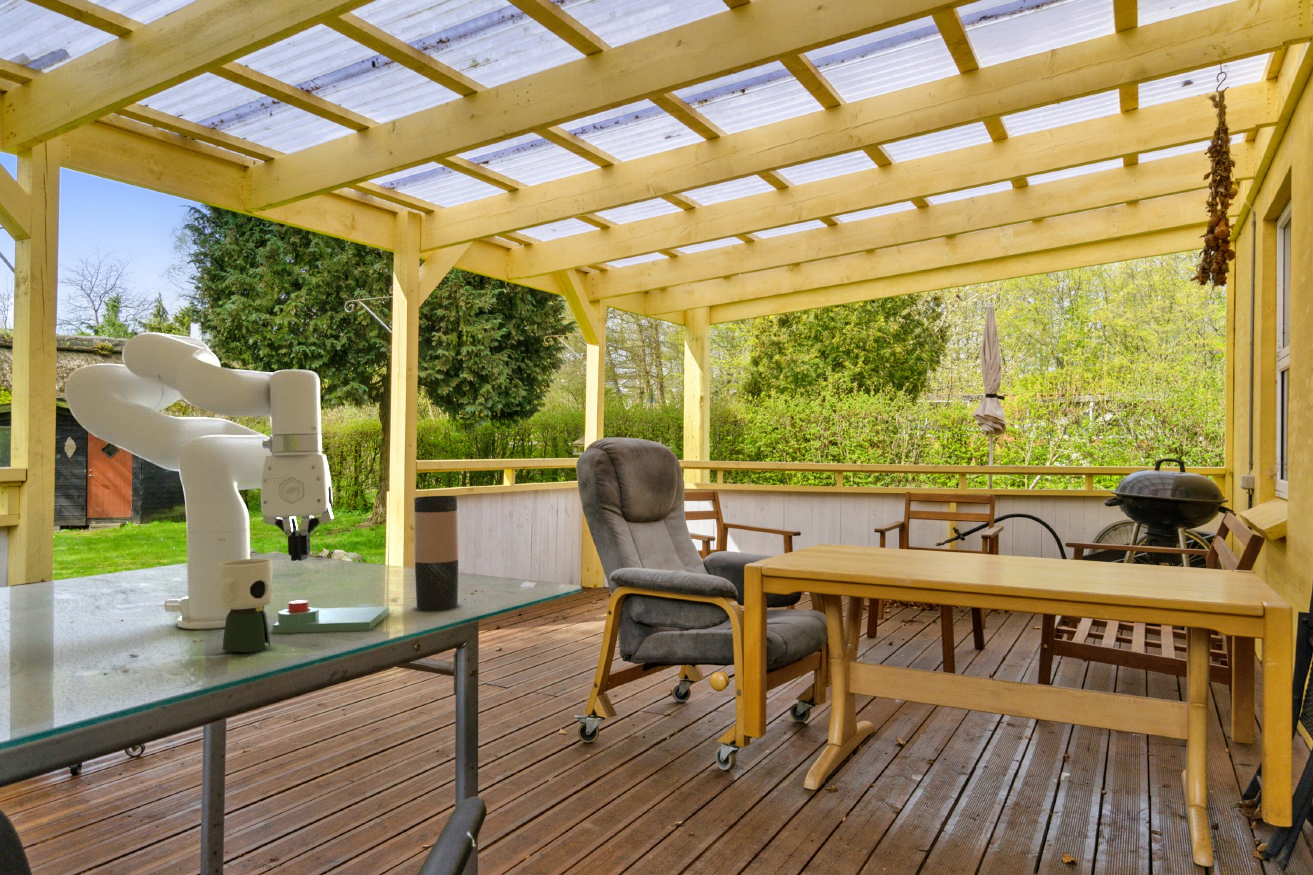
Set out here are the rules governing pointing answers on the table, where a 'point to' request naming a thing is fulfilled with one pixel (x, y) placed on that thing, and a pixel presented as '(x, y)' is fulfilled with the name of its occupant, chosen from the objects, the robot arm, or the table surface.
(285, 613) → the scale
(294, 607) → the button
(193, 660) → the table surface
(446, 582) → the travel mug
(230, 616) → the character mug
